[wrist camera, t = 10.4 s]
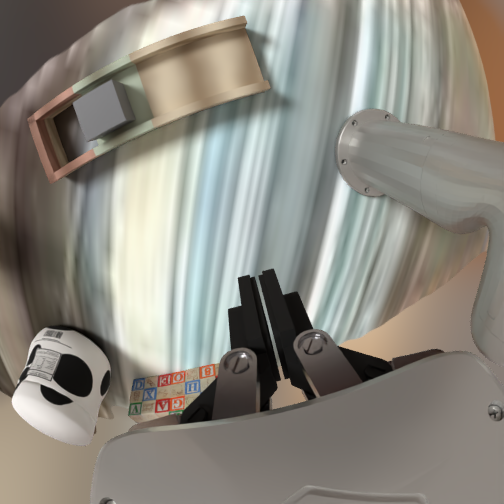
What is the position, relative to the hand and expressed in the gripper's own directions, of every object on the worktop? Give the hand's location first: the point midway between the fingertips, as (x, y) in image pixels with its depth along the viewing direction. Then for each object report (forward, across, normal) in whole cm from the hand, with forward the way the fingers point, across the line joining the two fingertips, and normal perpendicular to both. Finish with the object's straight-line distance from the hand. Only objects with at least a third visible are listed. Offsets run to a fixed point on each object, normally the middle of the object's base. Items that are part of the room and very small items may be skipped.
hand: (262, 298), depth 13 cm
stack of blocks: (+24, +19, +34) cm, 46 cm away
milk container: (+23, +39, +22) cm, 50 cm away
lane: (+24, +8, -14) cm, 29 cm away
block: (+22, +12, -13) cm, 28 cm away
